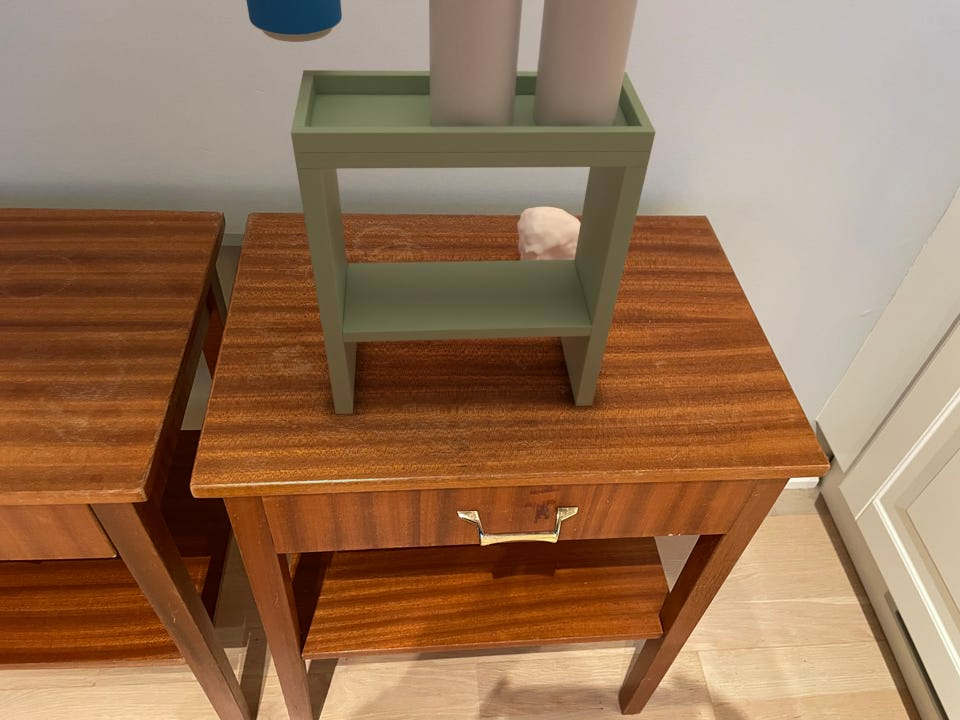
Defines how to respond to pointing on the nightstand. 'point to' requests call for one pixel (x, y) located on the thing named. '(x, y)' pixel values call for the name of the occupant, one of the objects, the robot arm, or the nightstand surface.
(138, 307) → the nightstand surface
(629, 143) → the can shelf
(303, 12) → the beverage can
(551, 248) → the pale pink lump
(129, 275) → the nightstand surface
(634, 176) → the shelf stand
